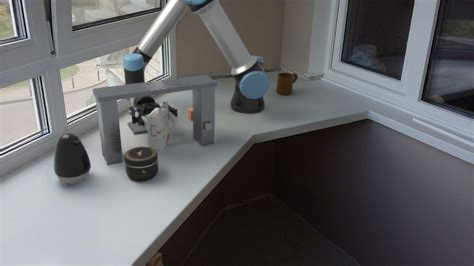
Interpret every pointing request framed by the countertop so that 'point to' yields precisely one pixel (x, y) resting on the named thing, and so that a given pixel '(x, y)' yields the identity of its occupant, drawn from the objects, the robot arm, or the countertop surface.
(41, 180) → the countertop surface
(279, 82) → the mug
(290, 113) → the countertop surface
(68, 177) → the black egg-shaped piece
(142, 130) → the mat
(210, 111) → the grey gantry arch
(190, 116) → the terracotta clay block
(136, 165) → the jar
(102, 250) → the countertop surface
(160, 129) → the ink cartridge box
